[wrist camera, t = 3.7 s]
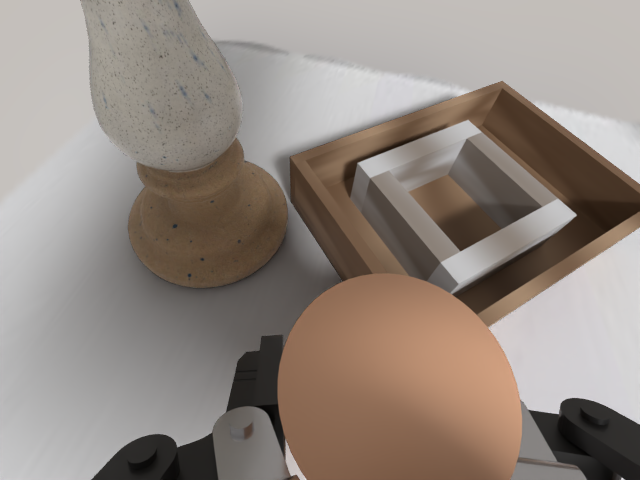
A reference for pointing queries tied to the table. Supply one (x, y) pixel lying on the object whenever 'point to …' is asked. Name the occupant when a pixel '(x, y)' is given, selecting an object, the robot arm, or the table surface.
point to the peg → (397, 386)
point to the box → (465, 200)
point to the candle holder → (181, 143)
